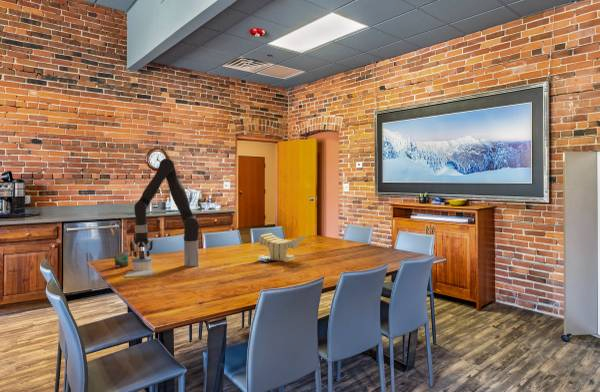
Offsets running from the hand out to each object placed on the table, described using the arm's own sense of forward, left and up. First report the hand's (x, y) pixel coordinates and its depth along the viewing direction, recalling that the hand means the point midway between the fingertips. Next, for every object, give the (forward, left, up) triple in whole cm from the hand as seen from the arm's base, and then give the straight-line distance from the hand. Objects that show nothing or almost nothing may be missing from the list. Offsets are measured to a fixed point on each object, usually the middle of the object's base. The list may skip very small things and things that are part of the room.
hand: (141, 256), depth 240 cm
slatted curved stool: (-95, -5, -8) cm, 96 cm away
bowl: (0, 0, -8) cm, 8 cm away
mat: (-1, +13, -8) cm, 15 cm away
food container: (+13, -11, -8) cm, 19 cm away
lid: (0, 0, -2) cm, 2 cm away
